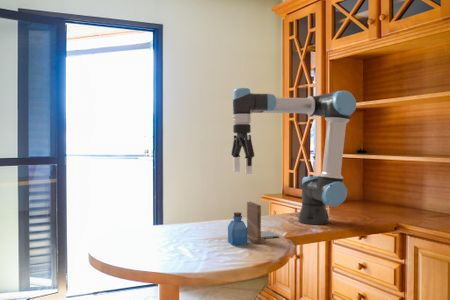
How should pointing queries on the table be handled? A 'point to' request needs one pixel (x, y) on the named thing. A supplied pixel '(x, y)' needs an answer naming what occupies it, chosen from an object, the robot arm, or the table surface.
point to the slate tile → (268, 234)
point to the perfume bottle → (237, 231)
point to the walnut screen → (254, 223)
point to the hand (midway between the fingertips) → (242, 172)
